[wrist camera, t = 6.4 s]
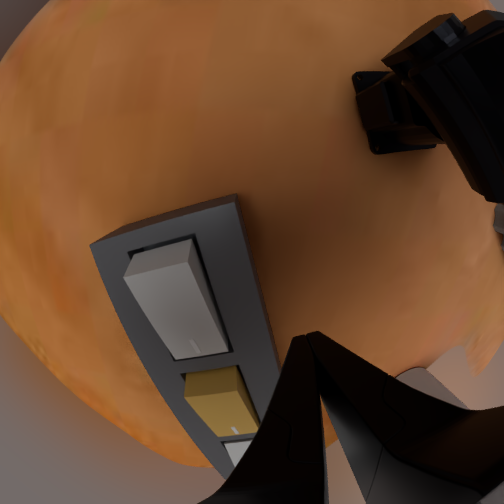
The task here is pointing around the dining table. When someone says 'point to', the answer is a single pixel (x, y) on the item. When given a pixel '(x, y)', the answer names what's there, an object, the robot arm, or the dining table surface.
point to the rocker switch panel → (228, 299)
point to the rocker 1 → (178, 299)
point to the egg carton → (499, 221)
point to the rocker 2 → (222, 401)
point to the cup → (429, 385)
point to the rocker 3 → (237, 448)
